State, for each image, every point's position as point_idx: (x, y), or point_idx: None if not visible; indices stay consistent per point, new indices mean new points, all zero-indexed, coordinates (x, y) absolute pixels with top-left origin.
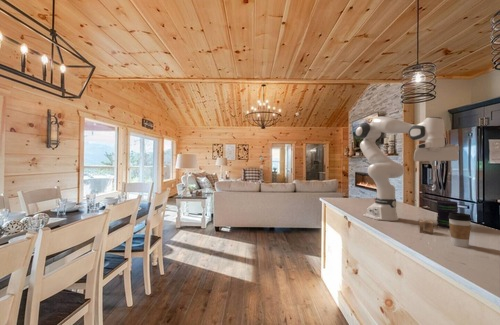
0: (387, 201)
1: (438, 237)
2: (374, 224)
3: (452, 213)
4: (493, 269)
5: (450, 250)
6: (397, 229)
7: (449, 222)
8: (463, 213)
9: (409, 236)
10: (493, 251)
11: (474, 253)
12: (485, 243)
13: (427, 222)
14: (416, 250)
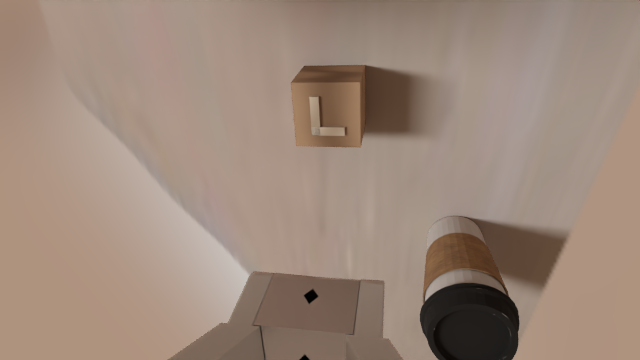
0: None
1: (385, 167)
2: (92, 76)
3: (444, 314)
4: None
5: (413, 306)
6: (212, 119)
7: (425, 289)
8: (497, 310)
9: (281, 211)
10: (552, 258)
11: None
12: (565, 163)
13: (334, 136)
14: None
